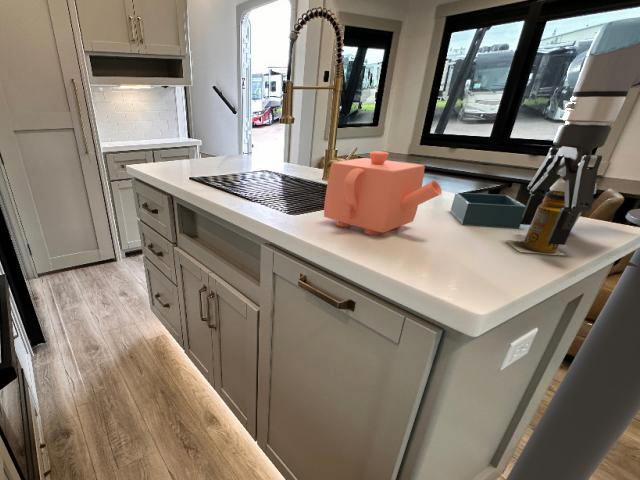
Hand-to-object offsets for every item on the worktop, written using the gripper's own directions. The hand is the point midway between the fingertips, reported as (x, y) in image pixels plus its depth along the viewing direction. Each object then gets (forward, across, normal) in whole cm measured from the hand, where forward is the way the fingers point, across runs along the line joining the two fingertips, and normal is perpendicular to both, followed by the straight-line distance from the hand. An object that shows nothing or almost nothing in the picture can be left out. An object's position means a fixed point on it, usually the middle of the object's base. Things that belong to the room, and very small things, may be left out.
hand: (539, 233), depth 77 cm
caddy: (+3, -22, -4) cm, 23 cm away
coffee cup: (+4, -15, +10) cm, 18 cm away
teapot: (+4, -6, -32) cm, 33 cm away
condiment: (+4, 0, 0) cm, 4 cm away
